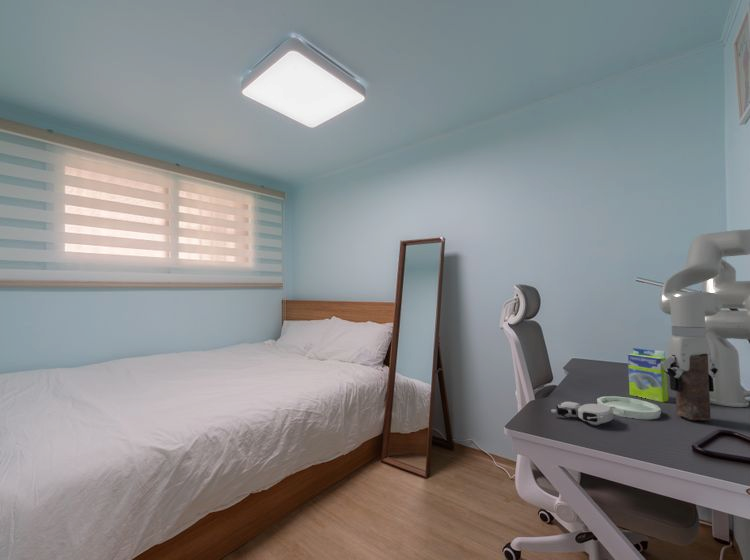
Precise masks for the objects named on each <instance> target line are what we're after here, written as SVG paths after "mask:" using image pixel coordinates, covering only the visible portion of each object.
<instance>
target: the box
mask: <svg viewBox="0 0 750 560" xmlns="http://www.w3.org/2000/svg"><path fill="white" fill-rule="evenodd" d="M632 351H633V352H632V353H628V354H627V362H628V365H627V366H628V381H629V382H628V384H629V385H628V386H629V387H628V388H629V396H633V397H636V396H638V397H637V398H641V397H642V399H645V398H646V399H645V400H649V401H655V402H658V403H659V402H660V403H665V402H668V401H669V391H668V389H669V388H668V377H667V376H668V375H667V373H666V372H665V371H664V368H663V367H662V365H661V362H662V361H664V360H666V359H667V357H666V351H664V350H657V349H655V350H654V349H644V348H635V347H633V348H632ZM645 352H649V353H645ZM651 353H652V354H651Z"/></svg>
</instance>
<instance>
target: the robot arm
mask: <svg viewBox="0 0 750 560" xmlns="http://www.w3.org/2000/svg"><path fill="white" fill-rule="evenodd" d="M687 253H688V254H687V257H686V262H685V266H684V267H682V268H681V269H679V270H677V271H676V272H675V273H673V274H671V276H670V277H668V278H667V279H666V280H665V282H664V283H663V285H662V288H661V291H660V292H661V293H660V294H659V295H660V296H659V302H658V305H659V307H660V310H661V312H663V313H664V314H666V315H669V316H670V322H671V323H670V325H671V336H669V339H668V343H667V350H666V352H667V353H666V360H664V361H662V362H661V365H662V367H663V368H664V371H665V372H666V373H667V376H668V377H669V389H670V390H671V391H675V392H676V391H678V392H682V379H681V378H679V377H680V375H681V374H682V373H683V371H684V372H687V371H689V365H690V357H691V356H699V355H702V354H708V374H709V394H710V404H713V405H718V406H724V407H732V408H746V407H749V406H750V402H749V401H748V400H746V399H745V398H748V397H750V390H743V389H742V386H741V371H740V358H739V356H740V355H739V352H738V350H737V348H736V347H735V346H734V345H733V344H732V343H731V342H730V341H729V340H728V339H734V340H749V341H750V280H737V281H736V279H737V277H736V276H737V275H736V274H737V271H736V269H735V267H734V266H732V264H730V263H729V262H728V261H726V260H724V259H723V258H725V257H736V256H748V255H749V256H750V229H735V230H727V231H726V230H725V231H718V232H711V233H710V232H709V233H703V234H700V235H698V236H695V237H694V238H692V240H691V242H690V244H689V249H688V252H687ZM700 283H701V291H681V290H683V289H685V288H688V287H691V286H694V285H698V284H700ZM729 309H739V310H729ZM740 309H741V310H740ZM743 309H745V310H743ZM678 367H679V368H678Z"/></svg>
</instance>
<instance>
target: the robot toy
mask: <svg viewBox="0 0 750 560" xmlns="http://www.w3.org/2000/svg"><path fill="white" fill-rule="evenodd" d="M611 408H615V407H609V406H606V405H599V404H598V403H585V404H583V405H581V404H580V403H579V402H578V403H577V402H573V401H564V402H559V403H558V404H557V405H556V409H554V408H552V409H551V410H550V411H551V413H553V414H557V416H558V415H559V416H561V415H562V416H566V418H571V417H572V418H579V419H580V420H582V421H584V422H588V423H589V424H590V425H592V426H599V425H601V424H606V423H609V422H611V421H612V420H613V419H614V415H613V410H612V409H611Z"/></svg>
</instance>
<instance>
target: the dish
mask: <svg viewBox="0 0 750 560" xmlns="http://www.w3.org/2000/svg"><path fill="white" fill-rule="evenodd" d="M596 402H597V403H596V404H599V405H606V406H609V407H615V408H611V409H612V410H613V416H616V417H620V418H621V417H622V418H626V417H627V419H632V418H634V420H644V421H646V420H649V421H650V420H657V419H659V418H661V413H662V409H661V408H660V406H658V405H657V404H655V403H652V402H649V401H647V400H642V399H637V398H633V397H625V396H624V397H623V396H615V395H612V396H611V395H610V396H609V395H608V396H600V397H597V399H596Z"/></svg>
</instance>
